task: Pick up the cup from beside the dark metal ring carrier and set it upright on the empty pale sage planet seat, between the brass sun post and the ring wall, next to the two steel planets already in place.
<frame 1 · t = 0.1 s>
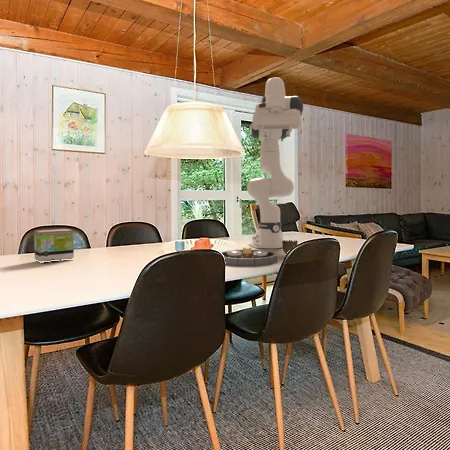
hand: (276, 136, 163), 54 cm above the table, tool tilted 30°, fingers open, 8 cm apart
tea box: (54, 261, 186), on the table
cup: (289, 257, 188), on the table
carrier: (247, 260, 181), on the table
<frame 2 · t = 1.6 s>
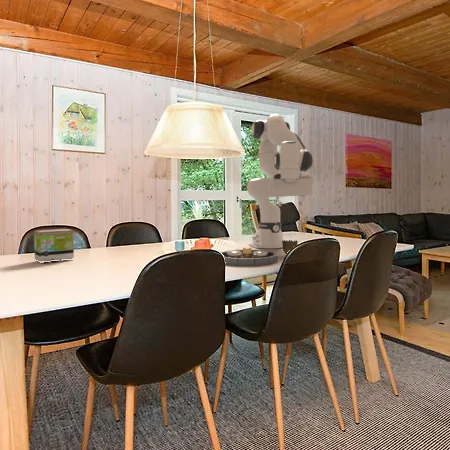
hand: (290, 205, 182), 25 cm above the table, tool pointing down, fingers open, 8 cm apart
nothing on the table moved.
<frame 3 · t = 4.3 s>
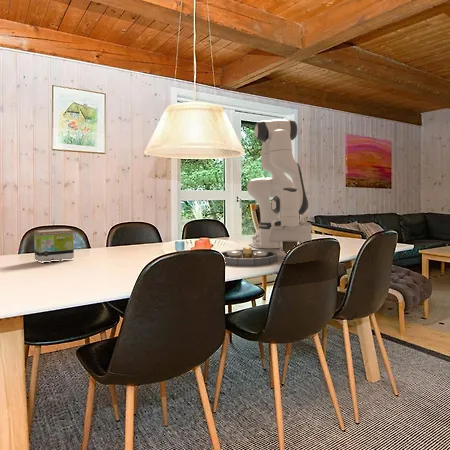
hand: (289, 251, 188), 3 cm above the table, tool pointing down, fingers closed on cup, 7 cm apart
cup: (289, 257, 188), on the table, touching gripper
everything else where it was.
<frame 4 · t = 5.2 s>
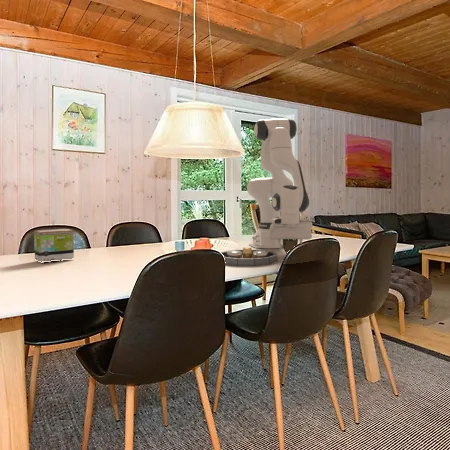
hand: (289, 248, 189), 4 cm above the table, tool pointing down, fingers closed on cup, 7 cm apart
cup: (289, 255, 189), point 1 cm above the table, touching gripper
everything else where it was.
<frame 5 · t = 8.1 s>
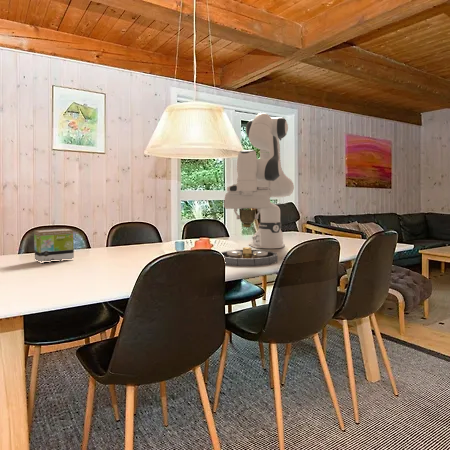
hand: (247, 219, 172), 19 cm above the table, tool pointing down, fingers closed on cup, 6 cm apart
cup: (247, 227, 173), point 16 cm above the table, touching gripper
everything else where it was.
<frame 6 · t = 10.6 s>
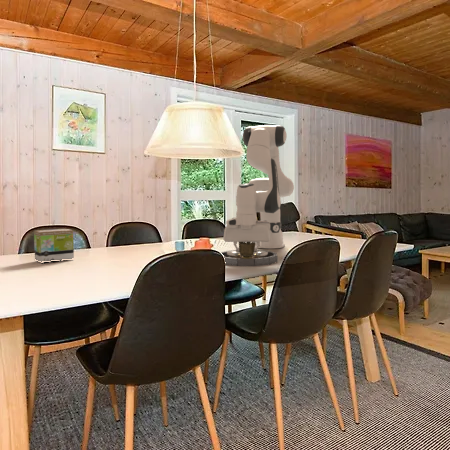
hand: (246, 251, 174), 5 cm above the table, tool pointing down, fingers closed on cup, 6 cm apart
cup: (246, 260, 174), point 1 cm above the table, touching gripper
everything else where it was.
when the fingers open (5 cm above the table, at t = 11.1 s): cup moves 1 cm, point 1 cm above the table.
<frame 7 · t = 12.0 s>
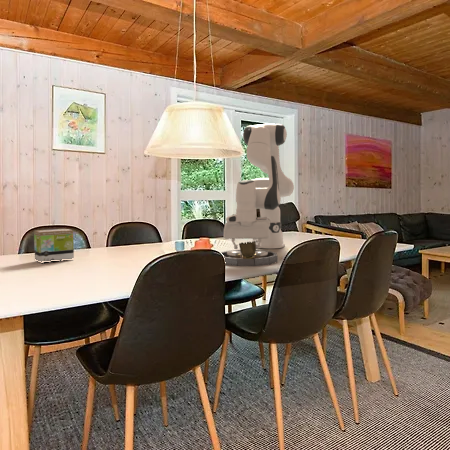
hand: (246, 248, 174), 6 cm above the table, tool pointing down, fingers open, 8 cm apart
cup: (249, 260, 174), point 1 cm above the table, touching gripper
everything else where it was.
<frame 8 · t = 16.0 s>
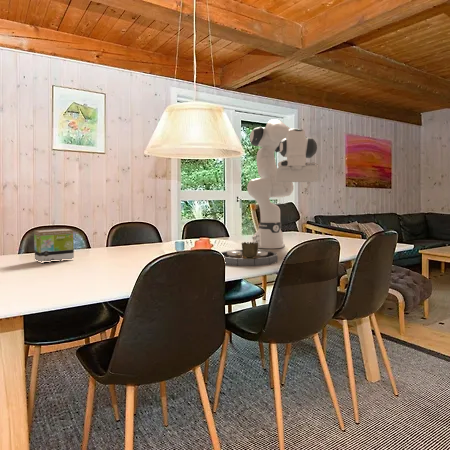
hand: (296, 191, 190), 31 cm above the table, tool pointing down, fingers open, 8 cm apart
cup: (250, 261, 174), point 1 cm above the table, touching carrier
everything else where it was.
at the end: cup 1.5 cm from the target spot on the carrier, point 0.9 cm above the carrier's base; cup tilted 1°; the gripper is holding nothing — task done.
